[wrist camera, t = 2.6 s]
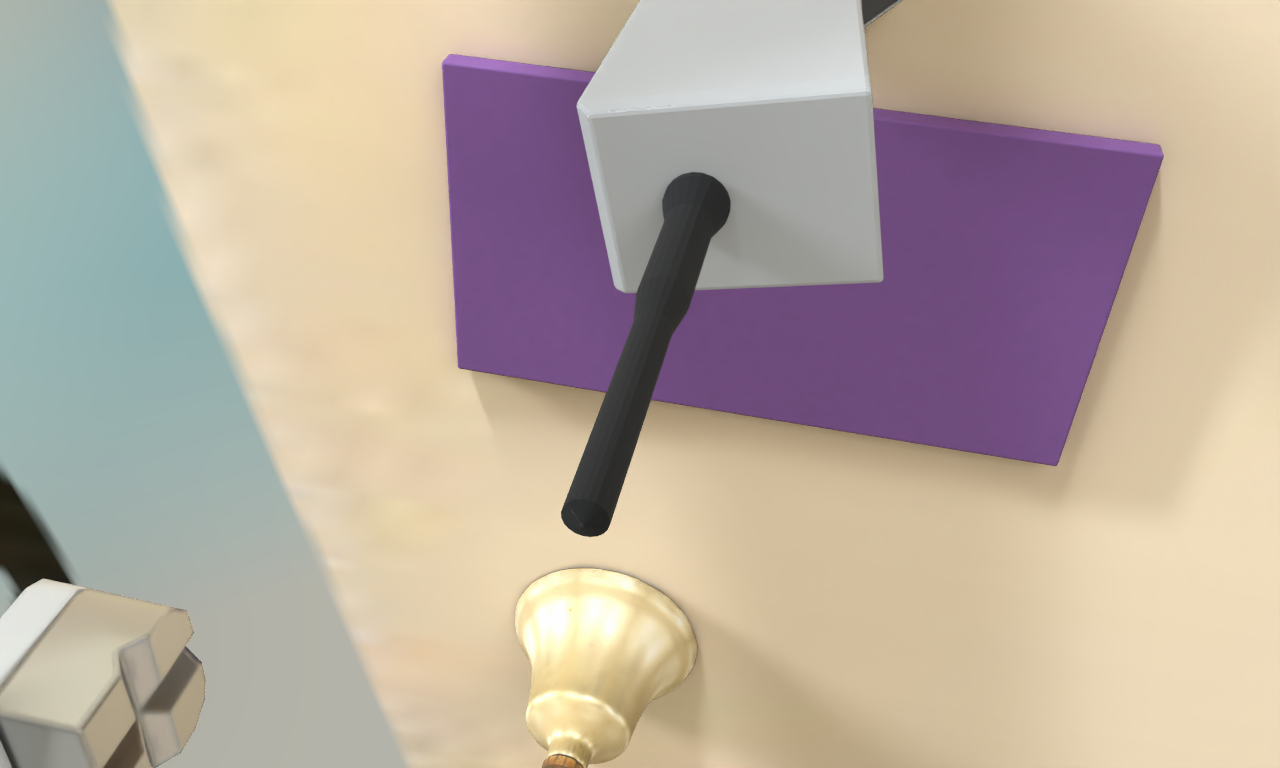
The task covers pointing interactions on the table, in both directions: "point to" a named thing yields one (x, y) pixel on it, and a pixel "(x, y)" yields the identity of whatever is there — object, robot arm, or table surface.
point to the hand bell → (597, 660)
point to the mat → (814, 314)
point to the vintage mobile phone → (722, 180)
